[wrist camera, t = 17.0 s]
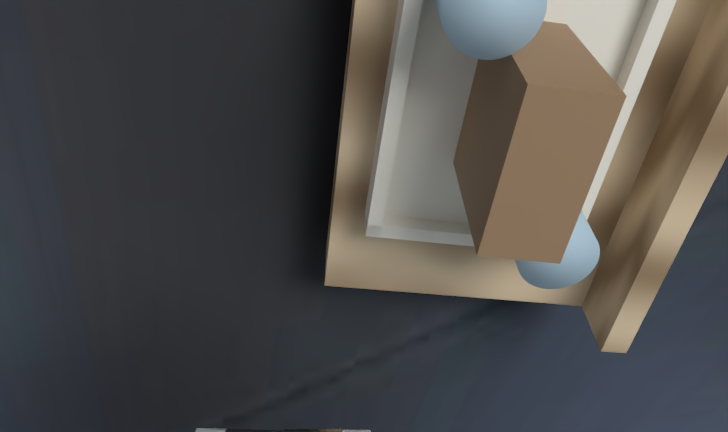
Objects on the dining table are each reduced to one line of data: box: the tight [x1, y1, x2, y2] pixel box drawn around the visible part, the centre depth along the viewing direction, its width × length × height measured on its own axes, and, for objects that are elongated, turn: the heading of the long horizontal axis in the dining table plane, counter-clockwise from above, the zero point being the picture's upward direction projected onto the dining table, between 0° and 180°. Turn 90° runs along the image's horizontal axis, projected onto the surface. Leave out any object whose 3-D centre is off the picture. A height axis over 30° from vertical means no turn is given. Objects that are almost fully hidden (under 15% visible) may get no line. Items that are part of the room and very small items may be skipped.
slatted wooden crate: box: [324, 0, 728, 353], centre depth 25 cm, size 22×14×6 cm, turn 173°
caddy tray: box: [365, 0, 677, 289], centre depth 22 cm, size 13×9×7 cm
